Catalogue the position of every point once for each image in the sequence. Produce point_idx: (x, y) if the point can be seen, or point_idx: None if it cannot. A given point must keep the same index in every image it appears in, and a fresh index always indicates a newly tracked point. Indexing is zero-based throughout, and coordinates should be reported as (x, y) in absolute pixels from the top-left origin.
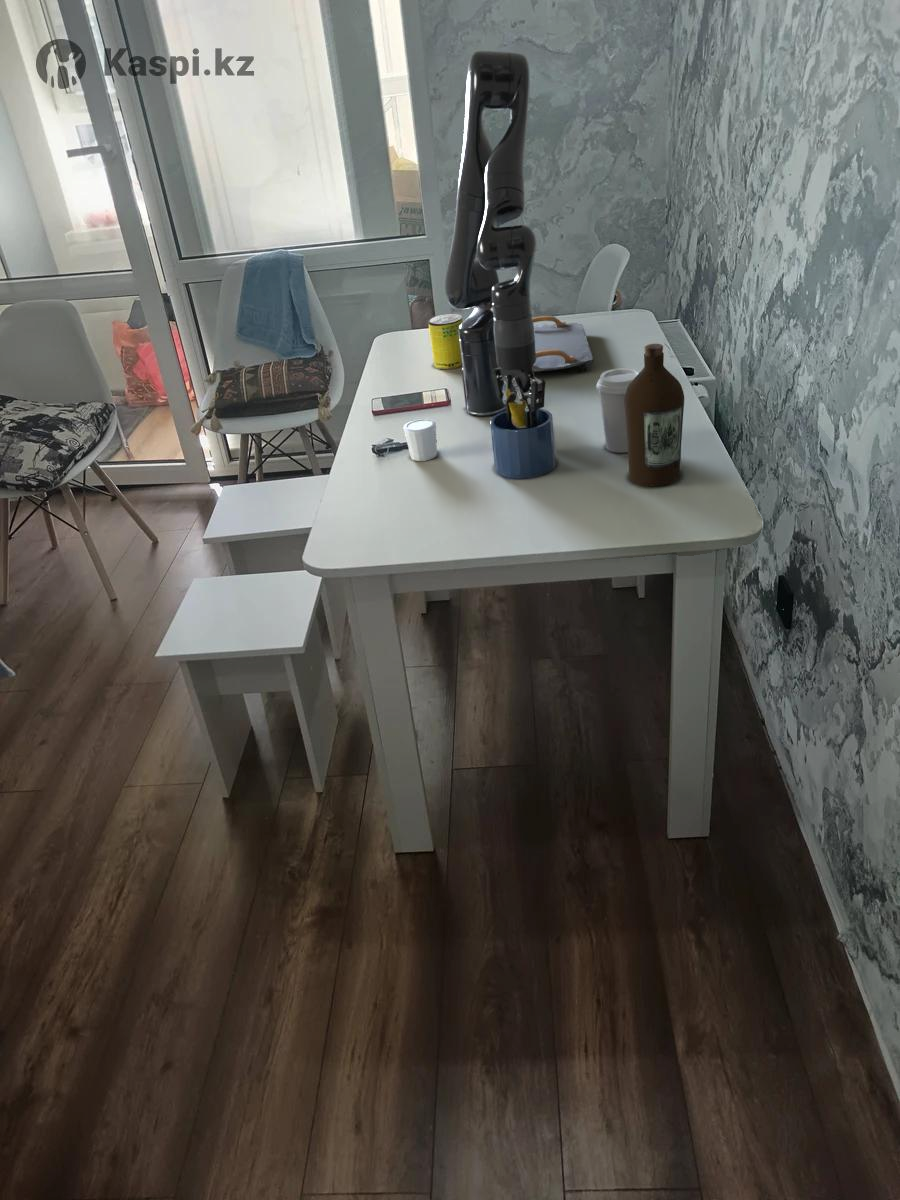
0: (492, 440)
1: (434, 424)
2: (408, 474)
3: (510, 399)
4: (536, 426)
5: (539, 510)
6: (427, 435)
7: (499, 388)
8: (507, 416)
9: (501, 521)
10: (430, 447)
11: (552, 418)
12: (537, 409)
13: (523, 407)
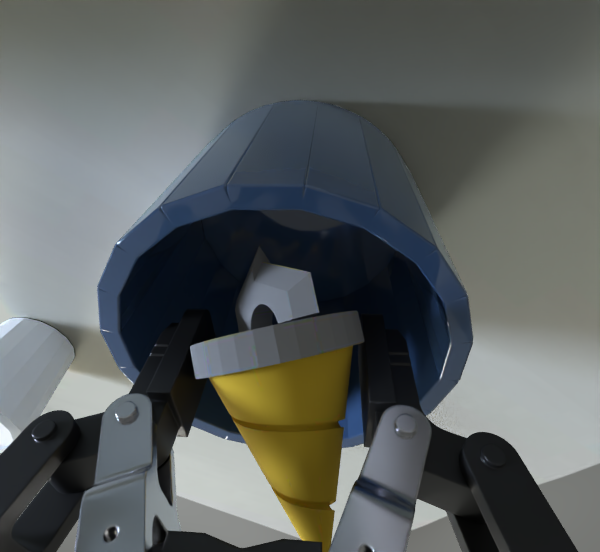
0: None
1: None
2: None
3: (161, 449)
4: (381, 315)
5: (558, 355)
6: (32, 411)
7: (56, 544)
8: None
9: (500, 416)
10: (53, 371)
11: (439, 248)
12: (212, 214)
13: (330, 450)
